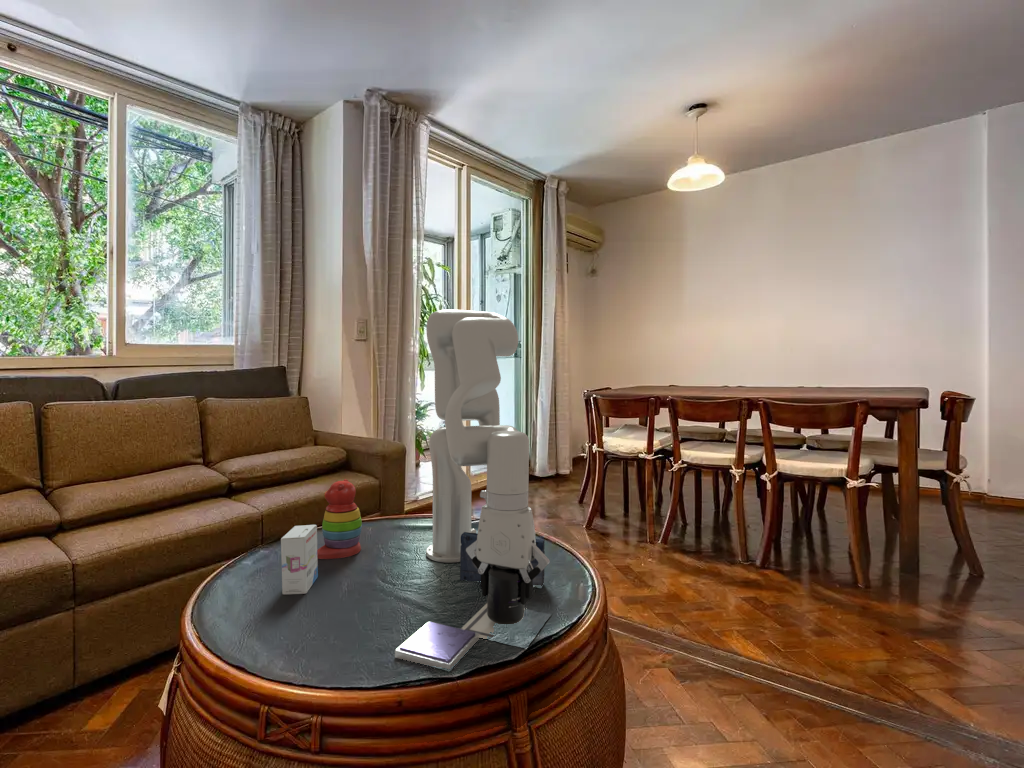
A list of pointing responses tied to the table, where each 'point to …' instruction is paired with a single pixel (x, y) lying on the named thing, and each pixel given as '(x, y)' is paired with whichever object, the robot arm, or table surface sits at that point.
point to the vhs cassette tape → (471, 571)
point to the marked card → (480, 623)
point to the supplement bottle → (504, 595)
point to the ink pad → (437, 645)
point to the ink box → (299, 559)
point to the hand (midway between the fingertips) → (506, 596)
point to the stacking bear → (340, 522)
